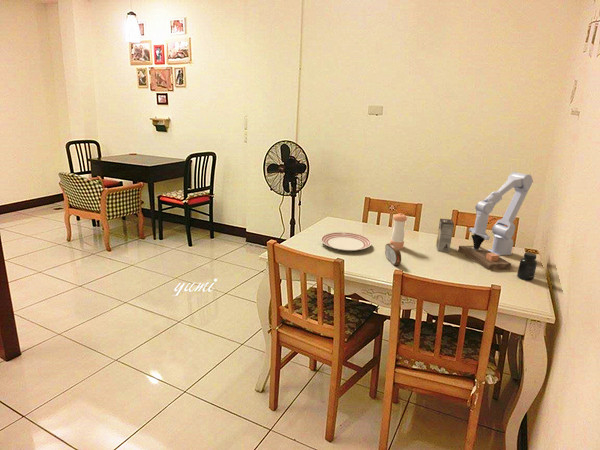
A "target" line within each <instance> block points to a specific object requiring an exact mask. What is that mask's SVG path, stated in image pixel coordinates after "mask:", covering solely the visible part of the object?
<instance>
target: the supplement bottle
mask: <svg viewBox="0 0 600 450" xmlns="http://www.w3.org/2000/svg"><path fill="white" fill-rule="evenodd" d="M523 254H524V255H523V257H521V259H520V260H519V265H518V269H517V274H516V276H517V278H518V279H520V280H522V281H523V280H524V281H527V282H529V281H530V282H531V281H533V280H534V278H535V274H536V271H537V266H538V262H537V260H536V259H537V254H536V253H533V252H529V251H526V252H524V253H523Z"/></svg>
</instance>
